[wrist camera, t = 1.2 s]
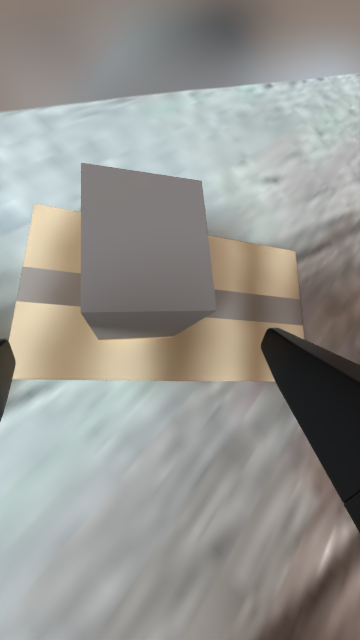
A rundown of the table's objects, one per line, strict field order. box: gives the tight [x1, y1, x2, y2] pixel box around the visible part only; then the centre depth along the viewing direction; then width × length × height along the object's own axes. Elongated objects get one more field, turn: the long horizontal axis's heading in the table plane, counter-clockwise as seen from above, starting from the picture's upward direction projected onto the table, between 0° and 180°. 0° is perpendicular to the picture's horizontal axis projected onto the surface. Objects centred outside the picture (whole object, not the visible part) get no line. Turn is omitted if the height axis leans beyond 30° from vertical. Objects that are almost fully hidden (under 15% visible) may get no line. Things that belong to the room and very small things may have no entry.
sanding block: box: [81, 163, 217, 341], centre depth 13 cm, size 6×5×8 cm
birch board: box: [9, 204, 304, 382], centre depth 19 cm, size 22×12×3 cm, turn 89°
